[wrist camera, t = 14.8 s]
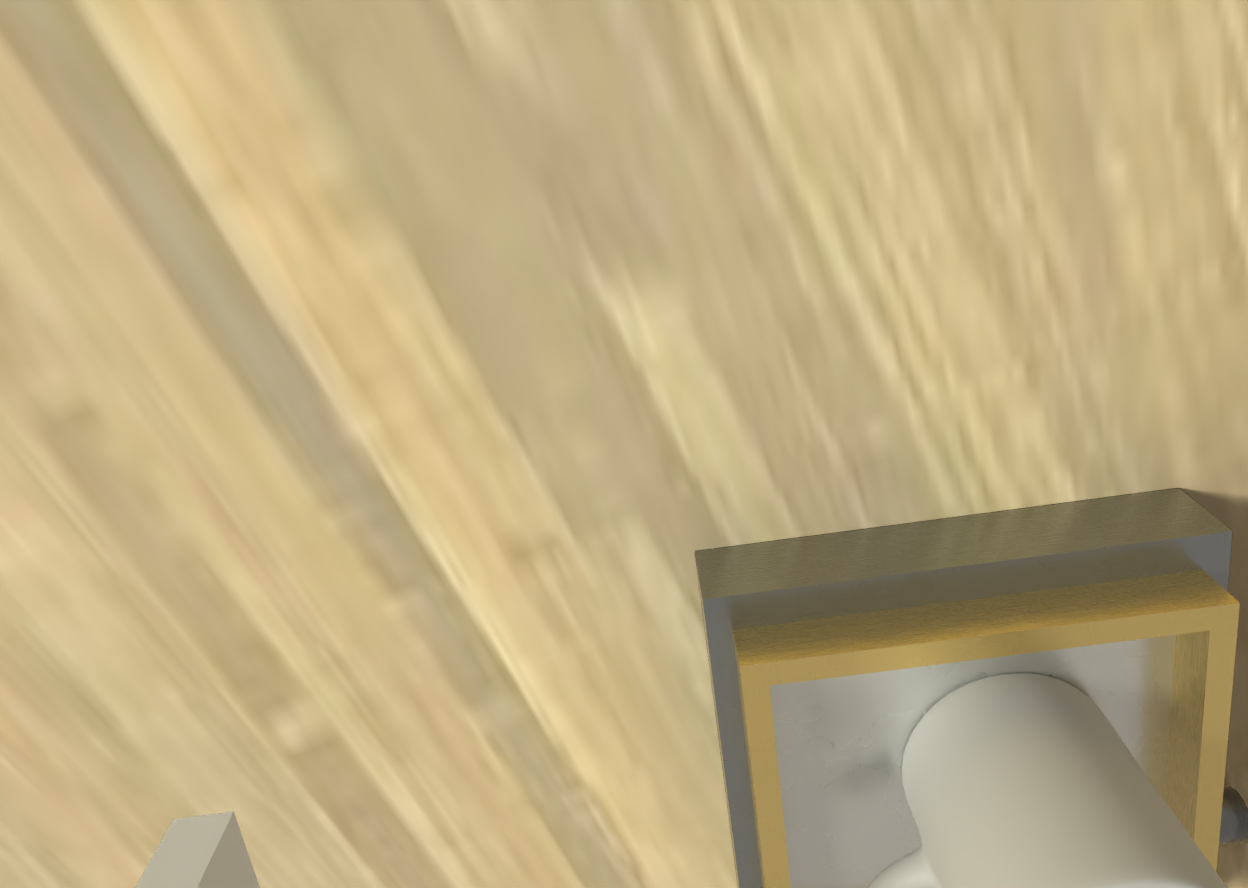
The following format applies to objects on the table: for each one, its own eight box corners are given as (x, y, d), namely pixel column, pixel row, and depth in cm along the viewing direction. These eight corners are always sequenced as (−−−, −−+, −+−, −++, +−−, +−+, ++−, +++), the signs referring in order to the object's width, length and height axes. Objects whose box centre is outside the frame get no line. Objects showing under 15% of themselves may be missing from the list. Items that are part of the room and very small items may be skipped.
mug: (1053, 632, 41) (1203, 835, 30) (1143, 779, 43) (1309, 1011, 33) (787, 776, 43) (843, 1010, 33) (888, 908, 45) (969, 1161, 35)
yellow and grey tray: (741, 914, 51) (759, 1032, 45) (694, 551, 44) (708, 634, 38) (1212, 858, 50) (1295, 972, 44) (1244, 479, 43) (1349, 552, 37)
